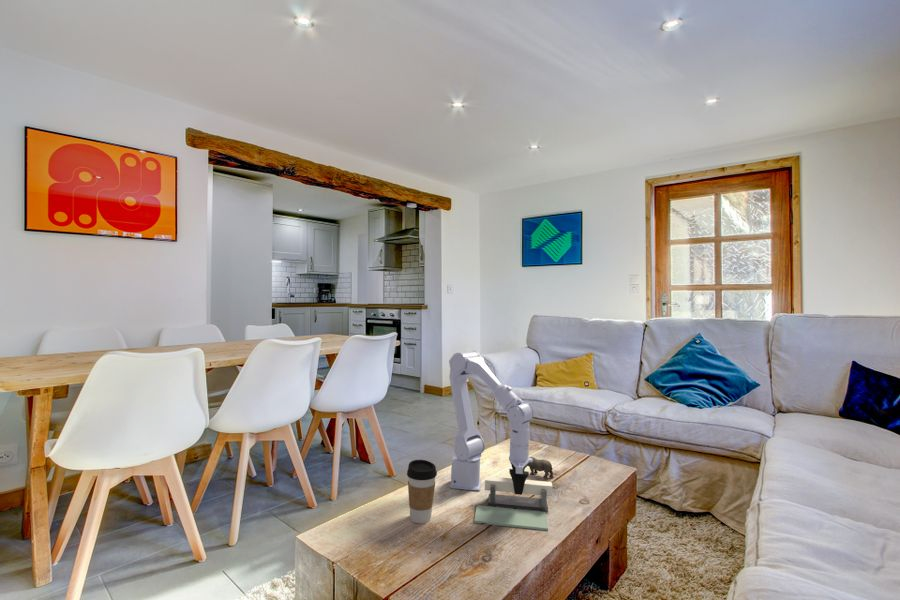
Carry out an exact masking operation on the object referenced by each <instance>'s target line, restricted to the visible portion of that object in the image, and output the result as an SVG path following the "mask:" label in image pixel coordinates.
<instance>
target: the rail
mask: <svg viewBox="0 0 900 600" xmlns="http://www.w3.org/2000/svg"><path fill="white" fill-rule="evenodd" d="M491 485H495V491H496V492H501V493H502V492H503V493H512V494H513V493H514V494H515V492H514V486H513V481H512V477H511V478H510V477H501V476H499V477H498V476H491V475H490V476H489V475H485V478H484V490H485V491H490V486H491ZM541 489H544V490H546V491H547V497H553V483H552V481H544V480H543V481H542V480H534V479H533V480H532V479H526V481H525V484H524V489H523V493H522V495H523V494H524V495H535V496H540V495H541Z"/></svg>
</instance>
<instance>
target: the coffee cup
mask: <svg viewBox="0 0 900 600" xmlns="http://www.w3.org/2000/svg"><path fill="white" fill-rule="evenodd" d="M437 471H438V470H437V467H436V465H435V464H434V463H433V462H431V461H429V460H426V459H414V460H411V461H410V462H409V463H408V467H407V471H406V475H407V477H408V480H407V488H408V489H407V490H408V492H407V493H408V504H409V505H408V506H409V520H410V521H411V522H412V523H415V522H416V524H426V523H429V522H430V521H431V520H430V519H432V513H433V505H434V497H435V496H434V495H435V489H436V477H437V475H438V472H437Z"/></svg>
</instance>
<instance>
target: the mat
mask: <svg viewBox="0 0 900 600" xmlns="http://www.w3.org/2000/svg"><path fill="white" fill-rule="evenodd" d="M474 522H475V523H474ZM473 523H474V524H481V523H486V524H485V525H491V526H492V525H493V526H501V527H502V526H503V527H510V528H511V527H512V528H520V529H529V530H536V531H537V530H540V531H547V532H548V531H549V525H548V519H547V512H544V511H534V510H524V509H514V508H504V507H494V506H488V505H478V504H476V508H475V514H474V521H473Z"/></svg>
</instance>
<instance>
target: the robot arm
mask: <svg viewBox="0 0 900 600" xmlns="http://www.w3.org/2000/svg"><path fill="white" fill-rule="evenodd" d="M448 363H449V368H450V369H449V385H450V389H451V395H452V401H453V406H454V412H455V416H456V417H455V418H456V423H457V427H458V428H457V429H458V431H457V432H456V434H455V436H454V445H453V452H454V455H455V456H453V457H452V459H451V470H450V471H451V472H450V489H457V490H467V491H478V492H479V491H481V485H482V479H480V474H481V473H480V472H481V457H482V454H483V453H484V451H485V449H486V443H485V441H484V439H483V437H482V433H481V430H479V429H478V428H477V427H476V426H475V422H474V415H473V410H472V405H471V399H470V395H469V394H470V393H469V388H468V384H467V380H468V378H469V377H470V376H471V374H472V375H477V377H478V378H479V379H481V381H483V382H484V384H486V386H488V388H490V389H491V391H493V393H492V394H493V395H492V396H493V398H494V399H495V401H496V402H497V403H498V404H499V405H500V406H501V408H503V410H504V411H505V412H506V417H507V420H508V422H509V428H510V429H509V432H510V434H509V456H508V461H509V463H510V465H511V468H509V472H508V473H509V475H510V477H511V478H512V481H513V486H514V492H515V493H514V494H515V495H520V496H521V495H523V494H522V493H523V489H524V484H525V481H526V480H528V479H527V478H528V477H529V476H530V475H529V474H530V472H529V471H527V470H525V469H526V468H527V467H526V465H527V464H528V463H529V462H533V460H532V458H529V457H530V454H529V453H530V423H531V422H530V421H531V420H532V419H533V417H534V409H533V407H532V406H531V404H530V403H529V402H527V401H523V400H522V399H521V398H520V397H519V396H518V395H517V394H516V393H515V392H514V391H513V388H512V387H511V386H510V385H507V384H503V383H501V382H500V381H499V379H498V378H497V376H496V375H495V374H494V373H493V372H492V370H491V368H490V367H489V366H488V365H487V364H486V362H485V358H484V357H483V356H481V354H480V353H479V352H478V351H477V350H471V351H464V352H455V353H454V354H453V355H452V356H451V357H450V359H449V360H448ZM525 467H526V468H525Z"/></svg>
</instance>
